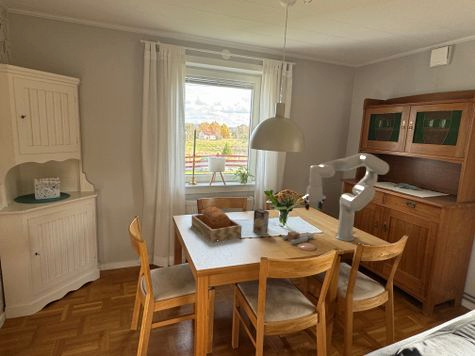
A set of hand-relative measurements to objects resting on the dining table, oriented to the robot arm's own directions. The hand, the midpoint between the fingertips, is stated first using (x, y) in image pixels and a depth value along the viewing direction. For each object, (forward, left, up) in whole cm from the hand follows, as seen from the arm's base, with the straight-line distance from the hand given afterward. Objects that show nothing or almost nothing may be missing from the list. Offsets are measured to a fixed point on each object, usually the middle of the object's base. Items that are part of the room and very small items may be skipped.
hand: (313, 209), depth 189 cm
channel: (+11, -3, -21) cm, 24 cm away
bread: (+52, -42, -22) cm, 70 cm away
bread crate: (+52, -41, -21) cm, 70 cm away
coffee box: (+24, -25, -22) cm, 41 cm away
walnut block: (+13, -3, -21) cm, 25 cm away
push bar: (+3, -3, -22) cm, 22 cm away
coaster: (+12, +9, -21) cm, 26 cm away
